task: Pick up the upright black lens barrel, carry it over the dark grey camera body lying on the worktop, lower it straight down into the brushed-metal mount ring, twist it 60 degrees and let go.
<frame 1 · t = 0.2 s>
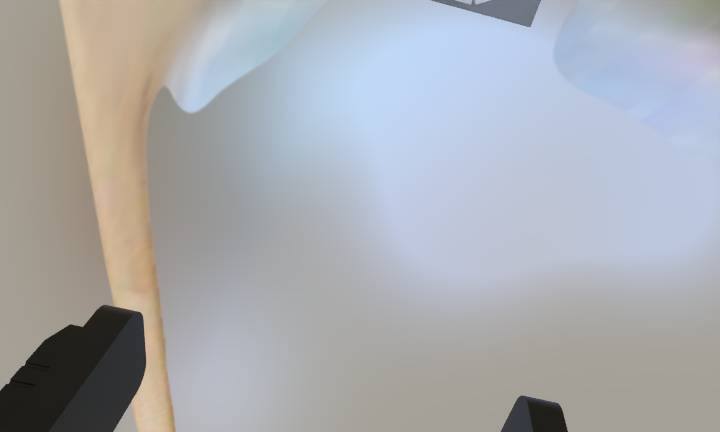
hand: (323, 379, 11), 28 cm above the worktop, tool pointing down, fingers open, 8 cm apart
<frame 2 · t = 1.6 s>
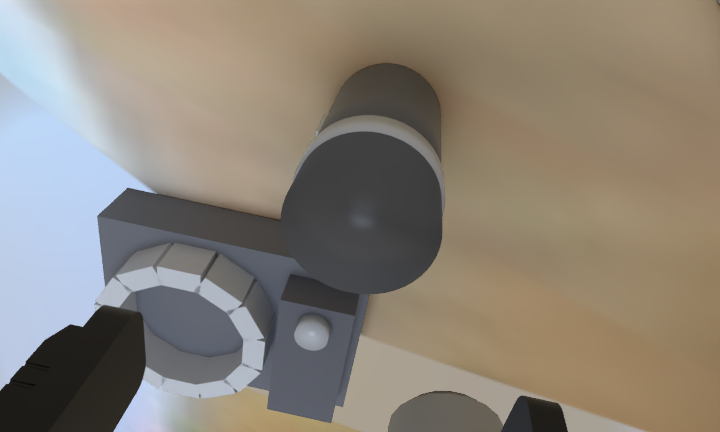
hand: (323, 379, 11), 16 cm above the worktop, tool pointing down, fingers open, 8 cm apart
can: (445, 418, 35), on the worktop
lens: (386, 116, 25), on the worktop
camera body: (247, 285, 31), on the worktop
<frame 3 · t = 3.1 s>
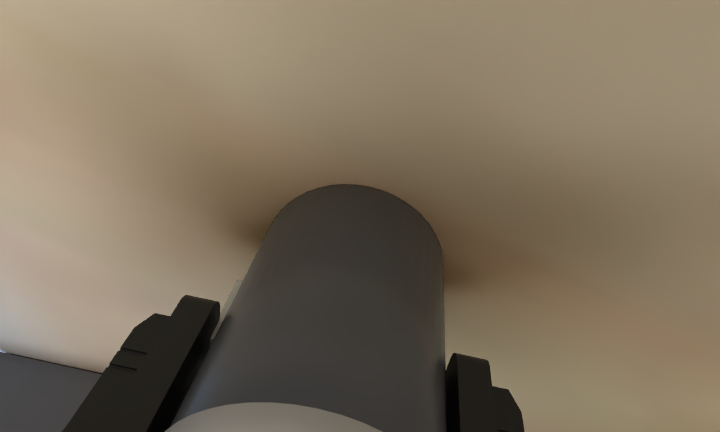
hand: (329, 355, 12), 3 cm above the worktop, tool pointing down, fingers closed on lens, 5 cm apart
lens: (352, 263, 15), on the worktop, touching gripper
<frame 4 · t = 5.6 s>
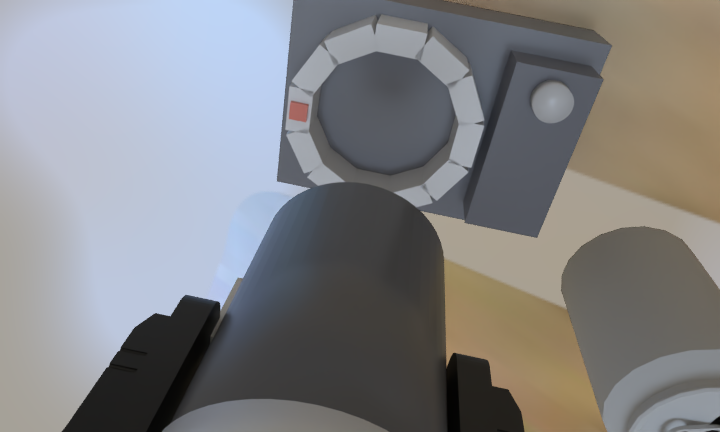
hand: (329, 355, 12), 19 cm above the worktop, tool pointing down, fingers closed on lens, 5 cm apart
can: (621, 268, 32), on the worktop
lens: (353, 261, 15), point 16 cm above the worktop, touching gripper
camera body: (427, 100, 28), on the worktop
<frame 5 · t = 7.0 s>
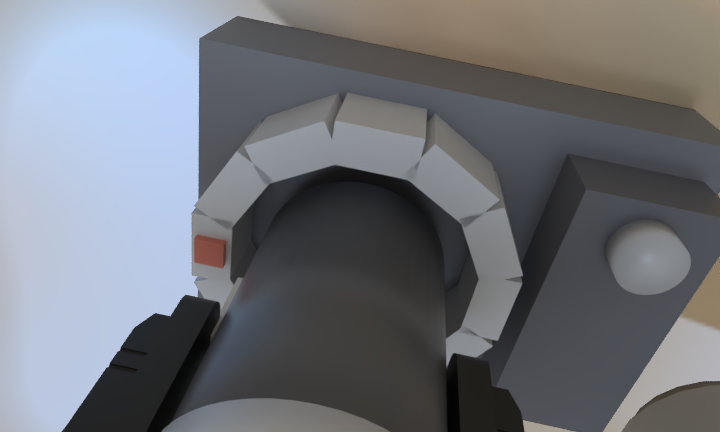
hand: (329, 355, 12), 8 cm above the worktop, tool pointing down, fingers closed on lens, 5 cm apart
can: (701, 424, 23), on the worktop
lens: (353, 261, 15), point 4 cm above the worktop, touching gripper
camera body: (425, 203, 18), on the worktop
when the fingers open (7 cm above the worktop, at t = 8.0 s): lens stays where it is, resting on camera body.
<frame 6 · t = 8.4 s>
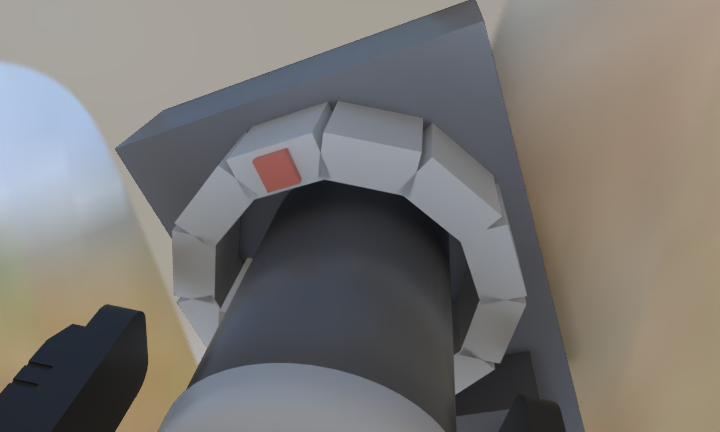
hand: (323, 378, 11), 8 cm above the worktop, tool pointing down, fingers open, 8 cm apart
lens: (359, 246, 15), point 3 cm above the worktop, touching camera body
camera body: (383, 249, 18), on the worktop
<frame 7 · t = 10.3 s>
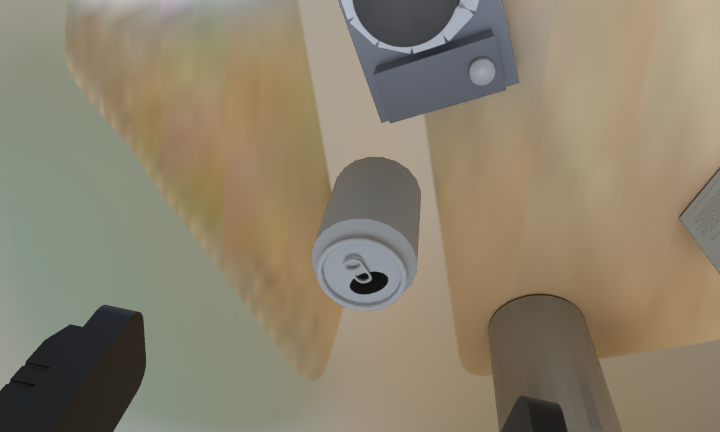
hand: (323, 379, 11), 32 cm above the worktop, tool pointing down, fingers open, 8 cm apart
can: (378, 190, 46), on the worktop
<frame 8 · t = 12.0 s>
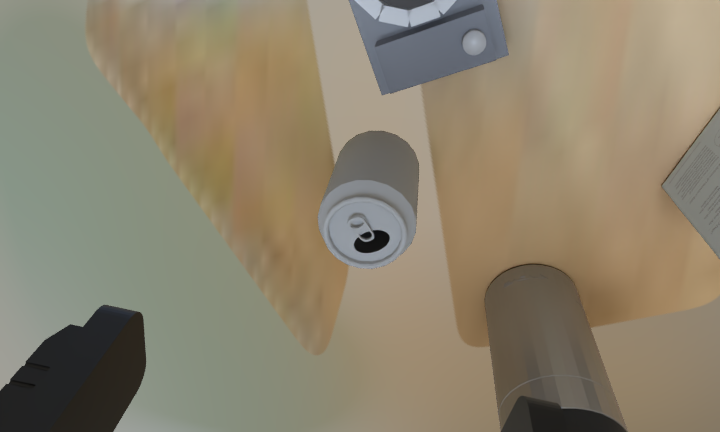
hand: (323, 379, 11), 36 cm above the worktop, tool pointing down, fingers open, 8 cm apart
can: (378, 164, 49), on the worktop
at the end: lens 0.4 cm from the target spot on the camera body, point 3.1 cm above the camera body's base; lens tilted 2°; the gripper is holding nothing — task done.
